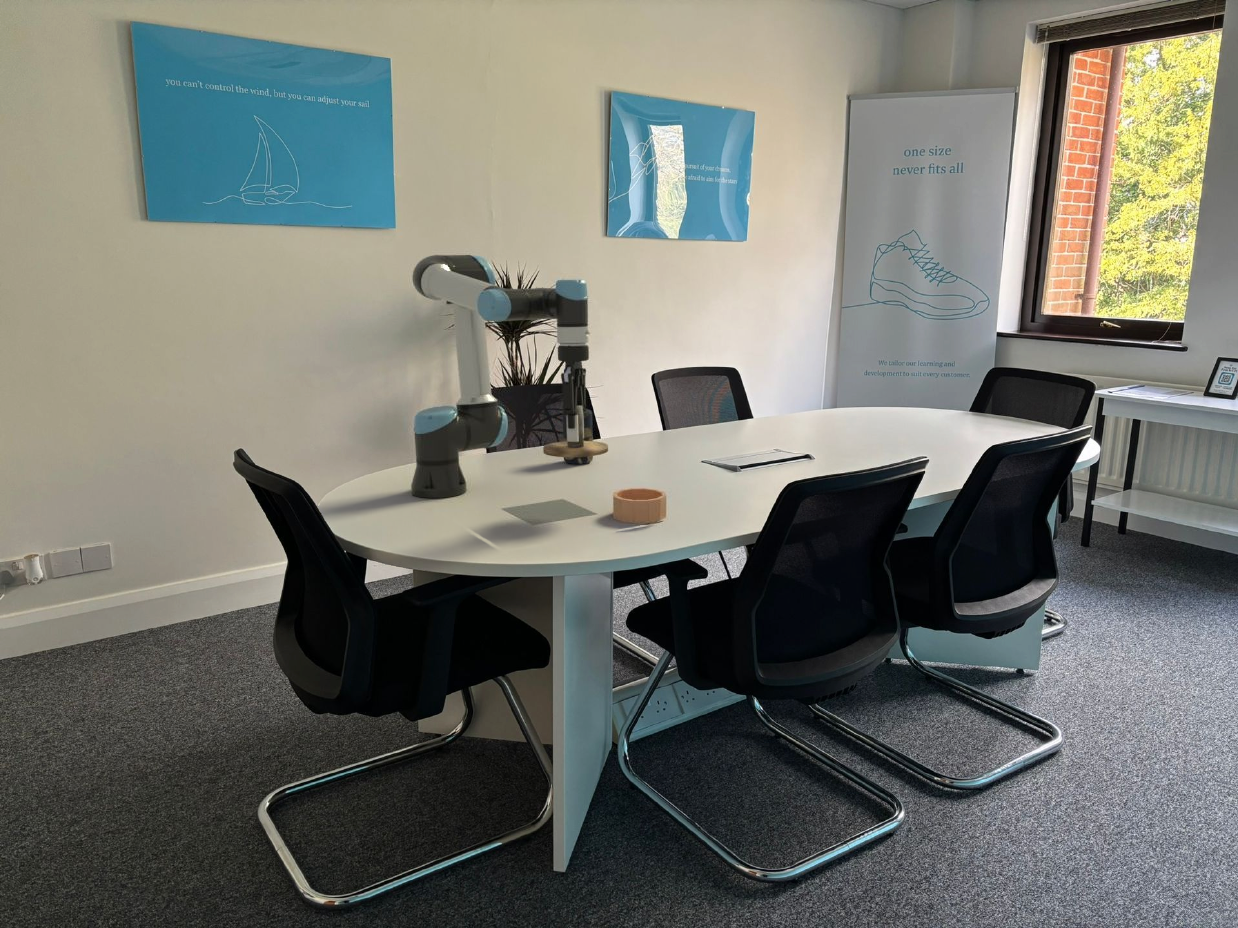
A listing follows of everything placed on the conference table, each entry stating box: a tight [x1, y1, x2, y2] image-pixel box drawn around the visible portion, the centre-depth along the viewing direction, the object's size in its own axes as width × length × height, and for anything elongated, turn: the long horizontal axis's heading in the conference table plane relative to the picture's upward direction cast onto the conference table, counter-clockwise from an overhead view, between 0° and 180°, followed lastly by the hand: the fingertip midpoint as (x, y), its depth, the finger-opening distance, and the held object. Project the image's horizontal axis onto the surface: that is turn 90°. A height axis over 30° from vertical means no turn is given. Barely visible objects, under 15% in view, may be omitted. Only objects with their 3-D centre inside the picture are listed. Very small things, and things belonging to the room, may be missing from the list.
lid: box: [542, 405, 609, 458], centre depth 222 cm, size 16×16×11 cm
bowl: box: [612, 487, 667, 526], centre depth 223 cm, size 13×13×6 cm
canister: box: [562, 408, 594, 465], centre depth 287 cm, size 10×10×18 cm
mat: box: [501, 498, 598, 526], centre depth 228 cm, size 18×18×1 cm
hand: (575, 439), depth 223 cm, fingers closed on lid, 4 cm apart
